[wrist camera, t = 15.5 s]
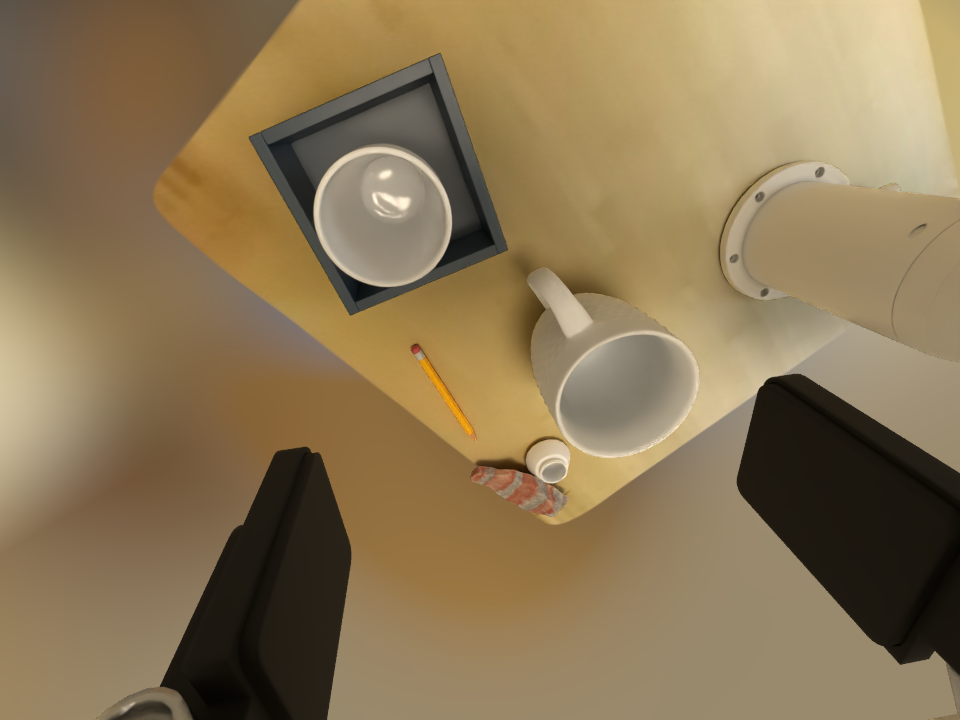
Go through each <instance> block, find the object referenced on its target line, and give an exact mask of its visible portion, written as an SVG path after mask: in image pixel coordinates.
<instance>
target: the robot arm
mask: <svg viewBox="0 0 960 720" xmlns="http://www.w3.org/2000/svg"><path fill="white" fill-rule="evenodd" d="M720 263H721V266H722V270H723V273H724V275H725V277H726V279H727V281H728V282H729V283H730V284H731V285H732V287H733V288H734V289H736V290H737V291H739V292H741V293H742V294H744V295H747V296H749V297H751V298H754V299H759V300H775V299H779V298H784V297H787V296H789V295H790V296H792V297H794V298H797V299H799V300H801V301H804V302H806V303H808V304H811V305H813V306H815V307H818V308H820V309H822V310H825V311H827V312H829V313H832V314H834V315H836V316H839V317H841V318H843V319H846V320H848V321H850V322H853V323H855V324H857V325H860V326H862V327H864V328H867V329H869V330H871V331H874V332H876V333H878V334H881V335H883V336H886V337H888V338H890V339H892V340H895V341H897V342H900V343H902V344H904V345H906V346H909V347H911V348H914V349H916V350H918V351H921V352H923V353H925V354H928V355H931V356H934V357H937V358H941V359H945V360H949V361H956V362H960V199H958V198H950V197H941V196H933V195H925V194H917V193H908V192H901V188H900V186H899V185H898V184H896V183H890V184H888V185H885V186H883V187H880V188H878V189H875V188H867V187H858V186H851V183H850V182H849V180H848V179H847V177H846V176H845V174H844V173H842V172H841V171H840V170H839V169H838V168H836V167H834V166H832V165H830V164H827V163H822V162H815V161H799V162H795V163H790V164H787V165H784V166H782V167H779V168H777V169H775V170H773V171H771V172H770V173H768V174H767V175H765V176H763V177H762V178H761V179H760V180H758V181H757V182H756V183H755V184H754V185H753V186H751V187H750V188H749V190H748V191H747V192H746V193H745V194H744V195H743V196H742V197H741V199H740V200H739V202H738V203H737V205H736V206H735V208H734V209H733V211H732V212H731V215H730V217H729V219H728V221H727V223H726V225H725V228H724V232H723V235H722V239H721V246H720ZM737 487H738V490H739V492H740V494H741V495H742V496H743V498H744V499H745V500H746V501H747V502H748V503H749V504H750V505H751V506H752V508H753V509H754V510H755V511H756V512H757V513H758V514H759V516H760V517H761V518H762V519H763V520H764V521H765V522H766V523H767V524H768V526H769V527H770V528H771V529H772V530H773V531H774V532H775V533H776V534H777V536H778V537H779V538H780V539H781V540H782V541H783V542H784V543H785V544H786V546H787V547H788V548H789V549H790V550H791V551H792V552H793V553H794V555H795V556H796V557H797V558H798V559H799V560H800V561H801V562H802V563H803V565H804V566H805V567H806V568H807V569H808V570H809V571H810V572H811V574H812V575H813V576H814V577H815V578H816V579H817V580H818V581H819V582H820V584H821V585H822V586H823V587H824V588H825V589H826V590H827V591H828V593H829V594H830V595H831V596H832V597H833V598H834V599H835V600H836V601H837V603H838V604H839V605H840V606H841V607H842V608H843V609H844V610H845V611H846V613H847V614H848V615H849V616H850V617H851V618H852V619H853V620H854V622H856V624H857V625H858V626H859V627H860V628H861V629H862V630H863V632H864V633H865V634H866V635H867V636H868V637H869V638H870V639H871V640H872V641H874V642H875V643H877V644H879V645H881V646H884V647H885V648H886V650H887V651H888V652H889V653H890V654H891V655H892V656H893V657H894V658H895V659H896V661H897V662H898V663H899V664H900V665H901V664H906V663H911V662H916V661H921V660H926V659H929V658H930V657H931V655H932V654H933V652H934V651H936V652H937V653H938V654H939V655H940V656H941V657H942V658H943V659H944V660H945V661H946V666H947V671H948V675H949V679H950V683H951V687H952V691H953V696H954V700H955V704H956V709H957V713H958V714H954V715H949V716H944V717H939V718H935V719H930V720H960V473H958V472H957V471H955V470H954V469H952V468H951V467H949V466H947V465H946V464H944V463H942V462H941V461H939V460H938V459H936V458H935V457H933V456H931V455H930V454H928V453H927V452H925V451H923V450H922V449H920V448H919V447H917V446H916V445H914V444H912V443H911V442H909V441H907V440H906V439H904V438H903V437H901V436H900V435H898V434H896V433H895V432H893V431H891V430H890V429H888V428H887V427H885V426H884V425H882V424H880V423H879V422H877V421H876V420H874V419H872V418H871V417H869V416H868V415H866V414H864V413H863V412H861V411H860V410H858V409H856V408H855V407H853V406H852V405H850V404H848V403H847V402H845V401H844V400H842V399H840V398H839V397H837V396H836V395H834V394H833V393H831V392H829V391H828V390H826V389H825V388H823V387H821V386H820V385H818V384H816V383H815V382H813V381H812V380H810V379H809V378H807V377H805V376H803V375H801V374H791V375H784V376H777V377H771V378H769V379H767V380H766V381H765V383H764V385H763V386H761V387H760V388H759V390H758V393H757V398H756V402H755V406H754V410H753V414H752V418H751V422H750V426H749V431H748V435H747V439H746V443H745V447H744V451H743V455H742V459H741V464H740V468H739V472H738V476H737ZM350 566H351V546H350V542H349V539H348V536H347V533H346V530H345V527H344V524H343V521H342V518H341V515H340V512H339V509H338V505H337V502H336V499H335V496H334V493H333V490H332V488H331V484H330V481H329V478H328V476H327V472H326V469H325V466H324V463H323V460H322V457H321V455H320V454H319V453H318V452H317V453H311V451H310V449H309V448H308V447H301V448H295V449H288V450H281V451H277V452H276V453H275V455H274V457H273V459H272V461H271V463H270V466H269V468H268V470H267V472H266V475H265V477H264V479H263V481H262V484H261V486H260V488H259V490H258V493H257V495H256V497H255V500H254V502H253V504H252V506H251V508H250V511H249V513H248V516H247V518H246V520H245V522H244V524H243V525H240V526H238V527H237V528H236V529H234V530H233V532H232V533H231V535H230V537H229V539H228V541H227V543H226V545H225V547H224V549H223V552H222V554H221V556H220V558H219V560H218V562H217V565H216V567H215V569H214V571H213V573H212V575H211V577H210V580H209V582H208V584H207V586H206V588H205V590H204V592H203V595H202V597H201V599H200V601H199V603H198V606H197V607H196V610H195V612H194V614H193V616H192V618H191V620H190V623H189V625H188V627H187V629H186V631H185V633H184V635H183V638H182V640H181V642H180V644H179V646H178V649H177V651H176V653H175V655H174V657H173V659H172V661H171V663H170V666H169V668H168V670H167V672H166V674H165V676H164V679H163V681H162V683H161V685H160V687H157V688H148V689H145V690H142V691H140V692H137V693H134V694H132V695H129V696H127V697H126V698H124V699H122V700H121V701H119V702H118V703H116V704H114V705H113V706H111V707H109V708H108V709H107V710H105V711H104V712H103V713H102V714H101V715H100V716H99V717H97V718H96V719H95V720H327V716H328V709H329V702H330V696H331V690H332V682H333V676H334V670H335V663H336V657H337V650H338V644H339V637H340V631H341V624H342V618H343V611H344V605H345V598H346V592H347V585H348V579H349V571H350Z"/></svg>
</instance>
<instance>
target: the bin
mask: <svg viewBox="0 0 960 720" xmlns="http://www.w3.org/2000/svg"><path fill="white" fill-rule="evenodd" d="M249 140H250V141H251V143H252V145H253V147H254V148H255V150H256V152H257V154H258V155H259V157H260V159H261V161H262V162H263V164H264V166H265V168H266V169H267V171H268V173H269V175H270V176H271V178H272V180H273V182H274V183H275V185H276V187H277V189H278V190H279V192H280V194H281V196H282V197H283V199H284V201H285V203H286V204H287V206H288V208H289V210H290V211H291V213H292V215H293V217H294V218H295V220H296V222H297V224H298V225H299V227H300V229H301V231H302V232H303V234H304V236H305V238H306V239H307V241H308V243H309V245H310V246H311V248H312V250H313V252H314V253H315V255H316V257H317V259H318V260H319V262H320V264H321V266H322V267H323V269H324V271H325V273H326V274H327V276H328V278H329V280H330V281H331V283H332V285H333V287H334V288H335V290H336V292H337V294H338V295H339V297H340V299H341V301H342V302H343V304H344V306H345V308H346V309H347V311H348V313H349V315H353V314H355V313H358V312H360V311H363V310H365V309H367V308H370V307H372V306H375V305H377V304H379V303H382V302H384V301H387V300H389V299H391V298H394V297H396V296H399V295H401V294H404V293H406V292H408V291H411V290H413V289H416V288H418V287H420V286H423V285H425V284H428V283H430V282H432V281H435V280H437V279H440V278H442V277H444V276H447V275H449V274H452V273H454V272H456V271H459V270H461V269H464V268H466V267H468V266H471V265H473V264H476V263H478V262H481V261H483V260H485V259H488V258H490V257H493V256H495V255H497V254H500V253H502V252H505V251H507V250H508V247H507V244H506V241H505V239H504V236H503V233H502V230H501V227H500V224H499V221H498V218H497V215H496V212H495V210H494V207H493V204H492V201H491V198H490V195H489V192H488V189H487V186H486V183H485V180H484V178H483V175H482V172H481V169H480V166H479V163H478V160H477V157H476V154H475V151H474V149H473V146H472V143H471V140H470V137H469V134H468V131H467V128H466V125H465V122H464V119H463V117H462V114H461V111H460V108H459V105H458V102H457V99H456V96H455V93H454V90H453V88H452V85H451V82H450V79H449V76H448V73H447V70H446V67H445V64H444V61H443V58H442V56H441V53H438V54H436V55H434V56H432V57H429V58H427V59H425V60H422V61H420V62H418V63H416V64H413V65H411V66H409V67H406V68H404V69H402V70H400V71H397V72H395V73H393V74H391V75H388V76H386V77H384V78H381V79H379V80H377V81H375V82H372V83H370V84H368V85H366V86H363V87H361V88H359V89H356V90H354V91H352V92H350V93H347V94H345V95H343V96H341V97H338V98H336V99H334V100H331V101H329V102H327V103H325V104H322V105H320V106H318V107H315V108H313V109H311V110H309V111H306V112H304V113H302V114H300V115H297V116H295V117H293V118H290V119H288V120H286V121H284V122H281V123H279V124H277V125H275V126H272V127H270V128H268V129H265V130H263V131H261V132H259V133H256V134H254V135H252V136H250V137H249ZM373 143H390V144H395V145H399V146H402V147H405V148H407V149H409V150H411V151H413V152H415V153H416V154H418V155H419V156H421V157H422V158H423V159H424V160H425V161H426V162H428V163H429V164H430V166H431V167H432V168H433V169H434V170H435V172H436V173H437V175H438V176H439V178H440V179H441V181H442V183H443V185H444V187H445V190H446V192H447V195H448V199H449V203H450V207H451V213H452V231H451V237H450V241H449V244H448V247H447V249H446V251H445V253H444V255H443V257H442V258H441V260H440V261H439V262H438V264H437V265H436V266H435V267H434V268H433V269H432V270H431V271H430V272H429V273H428V274H426V275H425V276H423V277H422V278H420V279H418V280H416V281H414V282H412V283H409V284H406V285H402V286H396V287H380V286H374V285H369V284H366V283H363V282H361V281H358V280H356V279H354V278H353V277H351V276H349V275H348V274H346V273H345V272H344V271H342V270H341V269H340V268H339V267H338V266H337V265H336V264H335V263H334V262H333V261H332V260H331V259H330V258H329V256H328V255H327V253H326V252H325V250H324V249H323V247H322V245H321V243H320V241H319V238H318V235H317V232H316V229H315V223H314V214H313V213H314V200H315V195H316V191H317V188H318V186H319V184H320V181H321V179H322V178H323V176H324V174H325V173H326V172H327V170H328V169H329V168H330V167H331V166H332V165H333V164H334V163H335V162H336V161H337V160H338V159H340V158H341V157H342V156H343V155H345V154H346V153H348V152H349V151H351V150H353V149H355V148H358V147H361V146H363V145H367V144H373Z"/></svg>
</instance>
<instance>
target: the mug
mask: <svg viewBox="0 0 960 720" xmlns="http://www.w3.org/2000/svg"><path fill="white" fill-rule="evenodd" d="M527 283H528V285H529V286H530V288H531V289H532V291H533V292H534V293H535V294H536V296H537V297H538V299H539V300H540V302H541V303H542V304H543V306H544V307H545V309H546V310H545V311H544V312H543V314H542V315H541V316H540V318H539V320H538V321H537V323H536V325H535V328H534V330H533V335H532V338H531V341H532V342H531V362H532V370H533V372H534V377H535V379H536V382H537V386H538V388H539V390H540V393H541V395H542V397H543V399H544V402H545V404H546V405H547V407H548V409H549V412H550V413H551V415H552V416H553V418H554V420H555V422H556V424H557V426H558V428H559V430H560V431H561V433H562V434H563V436H564V437H565V438H566V439H567V441H568V442H569V443H570V444H572V445H573V446H574V447H576V448H577V449H579V450H580V451H582V452H585V453H587V454H590V455H593V456H597V457H604V458H618V457H625V456H630V455H633V454H637V453H640V452H642V451H644V450H647V449H649V448H651V447H653V446H654V445H656V444H658V443H659V442H661V441H662V440H664V439H665V438H666V437H668V436H669V435H670V434H671V433H672V432H673V431H674V430H676V429H677V427H678V426H679V425H680V424H681V423H682V422H683V421H684V419H685V418H686V416H687V415H688V414H689V412H690V410H691V408H692V406H693V404H694V402H695V399H696V396H697V393H698V388H699V370H698V365H697V362H696V359H695V357H694V355H693V353H692V352H691V350H690V349H689V348H688V347H687V345H686V344H684V343H683V342H682V341H681V340H680V339H679V338H677V337H676V336H675V335H674V334H672V333H671V332H670V331H668V329H667V328H666V327H664V326H662V325H660V324H659V323H658V322H657V321H656V320H655V319H652V318H651V317H649V316H648V315H647V314H646V313H644V312H642V311H640V310H639V309H638V308H636V307H633V306H632V305H630V304H629V303H627V302H623V301H622V300H621V299H616V298H613V297H611V296H605V295H603V294H596V293H577V294H572V293H571V292H570V290H569V289H568V288H567V287H566V286H565V284H564V283H563V282H562V281H561V280H560V279H559V278H558V277H557V276H556V275H555V274H554V273H553V272H552V271H551V270H549V269H548V268H545V267H541V268H538V269H536V270H534V271H533V272H532V273H530V274H529V276H528V277H527Z"/></svg>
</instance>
